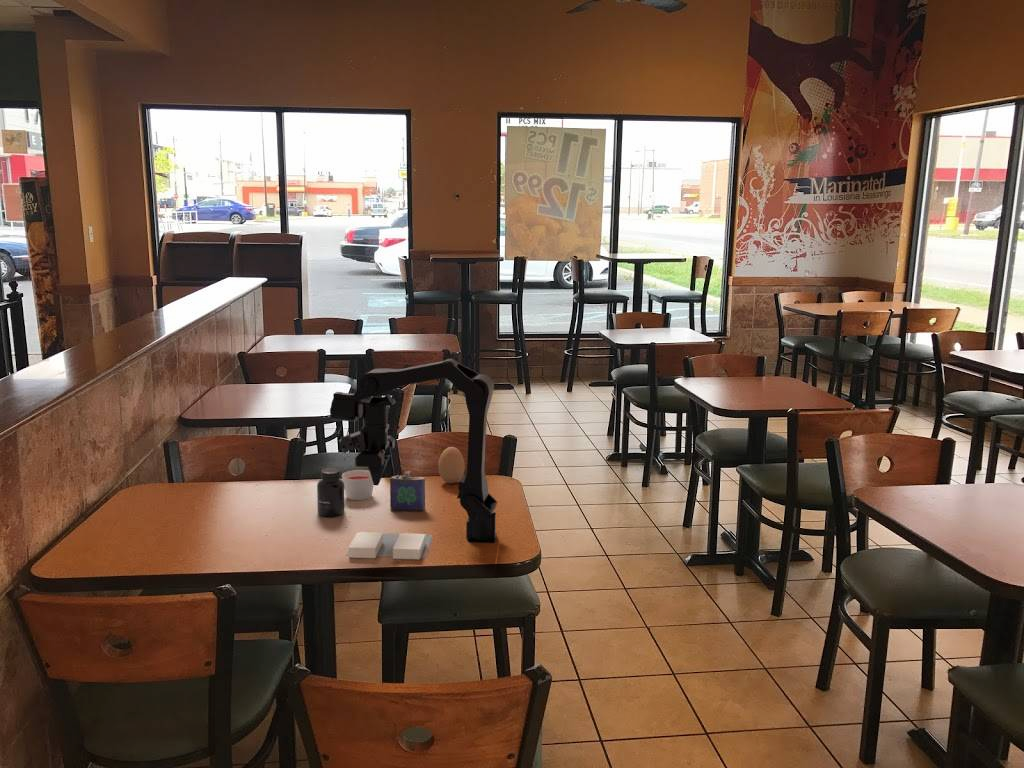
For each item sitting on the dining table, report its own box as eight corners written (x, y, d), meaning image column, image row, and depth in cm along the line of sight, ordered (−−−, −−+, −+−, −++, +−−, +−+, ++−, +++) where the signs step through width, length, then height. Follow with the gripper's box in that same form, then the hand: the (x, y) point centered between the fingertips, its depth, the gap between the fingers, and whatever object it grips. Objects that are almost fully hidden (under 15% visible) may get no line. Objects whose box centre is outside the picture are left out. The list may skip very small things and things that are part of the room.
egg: (454, 477, 256) (454, 442, 254) (469, 484, 250) (470, 447, 248) (433, 482, 251) (433, 446, 249) (448, 489, 245) (448, 452, 243)
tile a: (425, 533, 203) (419, 549, 194) (425, 544, 203) (419, 559, 194) (399, 533, 203) (392, 548, 194) (400, 543, 204) (393, 559, 194)
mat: (432, 537, 209) (432, 535, 209) (424, 559, 195) (424, 557, 195) (358, 535, 210) (358, 533, 210) (345, 557, 196) (345, 555, 196)
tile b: (382, 532, 203) (375, 548, 194) (383, 542, 204) (375, 558, 194) (357, 532, 203) (348, 547, 194) (357, 542, 204) (348, 557, 195)
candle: (338, 494, 240) (338, 472, 239) (370, 490, 244) (370, 468, 242) (347, 503, 232) (346, 481, 231) (379, 499, 236) (379, 477, 234)
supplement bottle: (318, 520, 219) (317, 475, 217) (317, 511, 226) (315, 467, 223) (345, 518, 221) (344, 473, 219) (343, 509, 227) (342, 465, 225)
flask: (426, 509, 229) (425, 470, 227) (424, 512, 226) (424, 473, 224) (391, 508, 229) (390, 469, 227) (389, 512, 226) (388, 472, 224)
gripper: (350, 412, 216) (351, 472, 219) (332, 431, 198) (334, 496, 201) (394, 413, 216) (395, 473, 219) (380, 432, 197) (381, 497, 200)
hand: (376, 484), depth 210 cm, fingers closed
